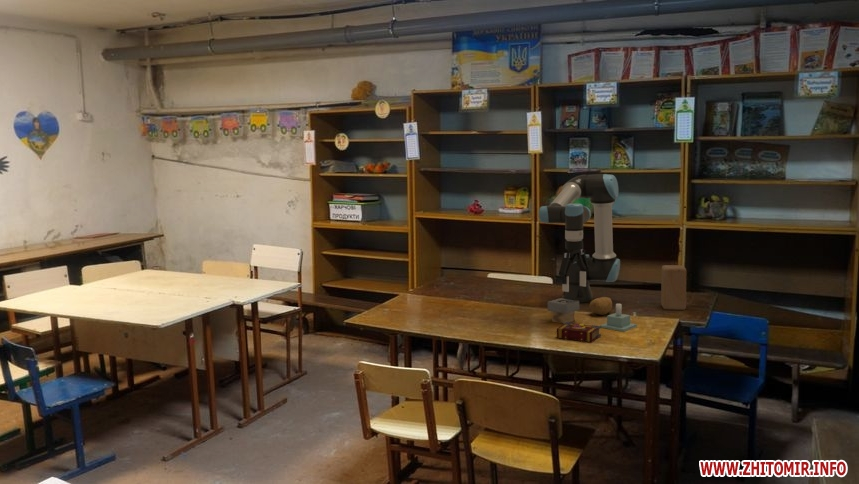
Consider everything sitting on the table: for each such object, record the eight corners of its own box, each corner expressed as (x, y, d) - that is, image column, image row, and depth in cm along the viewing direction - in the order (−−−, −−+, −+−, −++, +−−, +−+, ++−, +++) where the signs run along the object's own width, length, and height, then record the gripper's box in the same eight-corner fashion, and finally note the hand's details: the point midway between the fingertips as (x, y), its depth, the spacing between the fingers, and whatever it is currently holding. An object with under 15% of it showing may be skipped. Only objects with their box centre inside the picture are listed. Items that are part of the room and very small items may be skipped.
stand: (552, 321, 296) (552, 301, 295) (561, 318, 301) (561, 299, 300) (565, 323, 291) (565, 303, 290) (574, 320, 296) (574, 301, 295)
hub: (600, 327, 283) (600, 304, 282) (613, 322, 291) (613, 300, 289) (623, 331, 275) (623, 308, 274) (636, 326, 283) (637, 303, 282)
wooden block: (686, 310, 310) (686, 268, 308) (663, 309, 312) (664, 268, 310) (682, 305, 320) (683, 265, 317) (660, 305, 322) (661, 264, 319)
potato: (617, 312, 309) (617, 296, 308) (604, 318, 298) (604, 301, 297) (598, 310, 315) (598, 293, 314) (584, 315, 305) (584, 298, 304)
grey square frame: (547, 310, 295) (547, 301, 295) (560, 306, 302) (560, 298, 302) (566, 313, 288) (566, 304, 288) (579, 309, 295) (579, 301, 295)
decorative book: (592, 343, 260) (592, 331, 259) (553, 338, 269) (553, 326, 268) (601, 336, 270) (601, 324, 269) (563, 332, 278) (563, 320, 277)
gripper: (565, 244, 270) (565, 294, 273) (597, 237, 288) (597, 285, 290) (550, 242, 275) (550, 292, 278) (582, 236, 293) (582, 283, 296)
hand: (574, 288), depth 284 cm, fingers open, 13 cm apart
